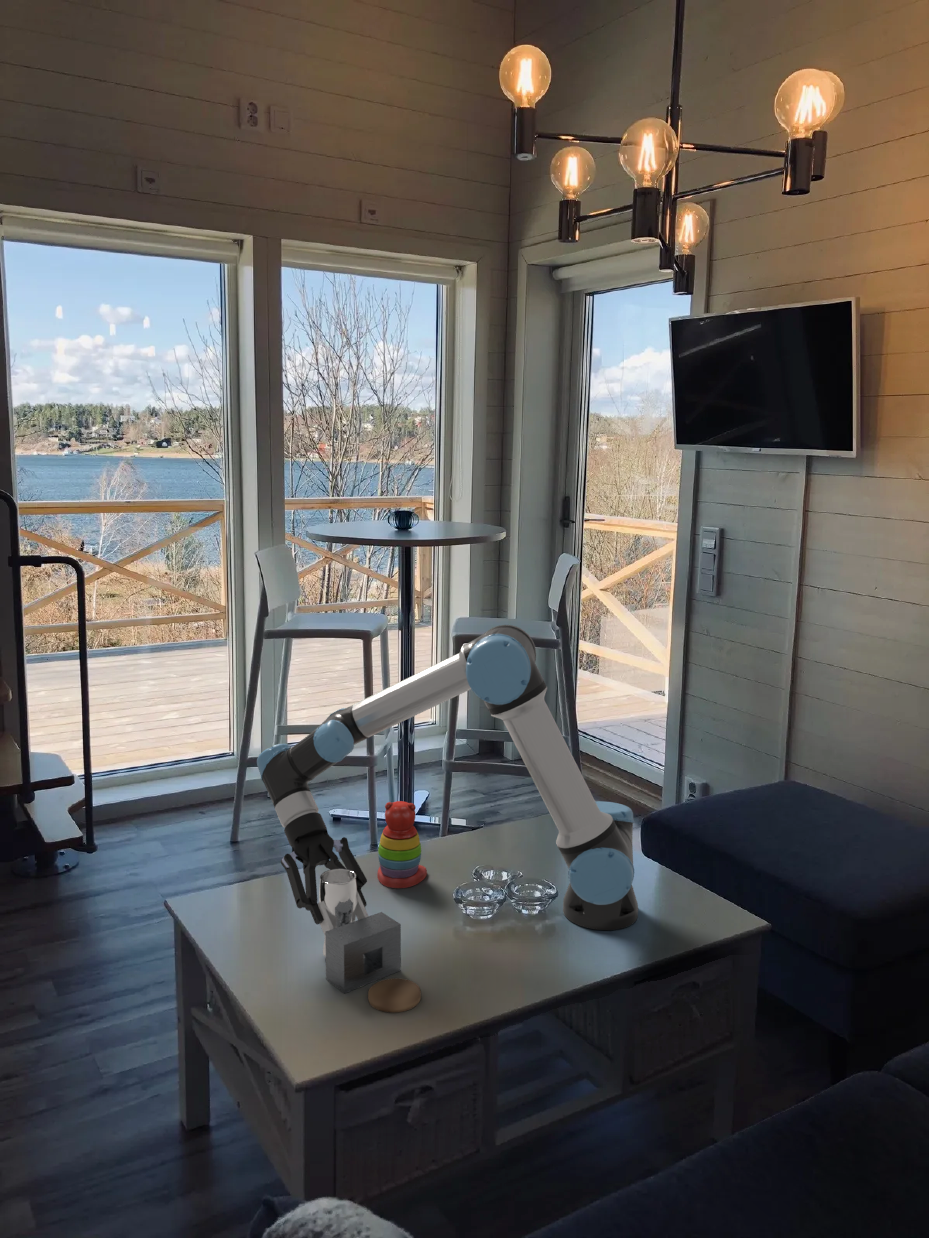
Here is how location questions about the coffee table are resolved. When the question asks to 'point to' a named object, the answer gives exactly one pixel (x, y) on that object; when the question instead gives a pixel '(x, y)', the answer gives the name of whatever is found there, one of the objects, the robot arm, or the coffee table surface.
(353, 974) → the grey block with hole
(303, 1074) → the coffee table surface
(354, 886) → the beer glass
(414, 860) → the stacking bear
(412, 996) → the walnut coaster
